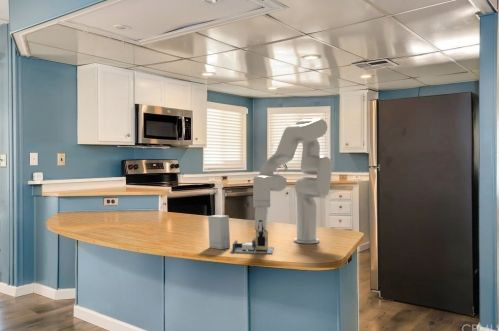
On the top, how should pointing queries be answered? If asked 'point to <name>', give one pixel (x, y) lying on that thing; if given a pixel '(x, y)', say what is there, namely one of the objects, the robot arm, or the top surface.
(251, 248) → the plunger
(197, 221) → the top surface
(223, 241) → the skincare box
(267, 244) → the beech block
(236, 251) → the gauge base
